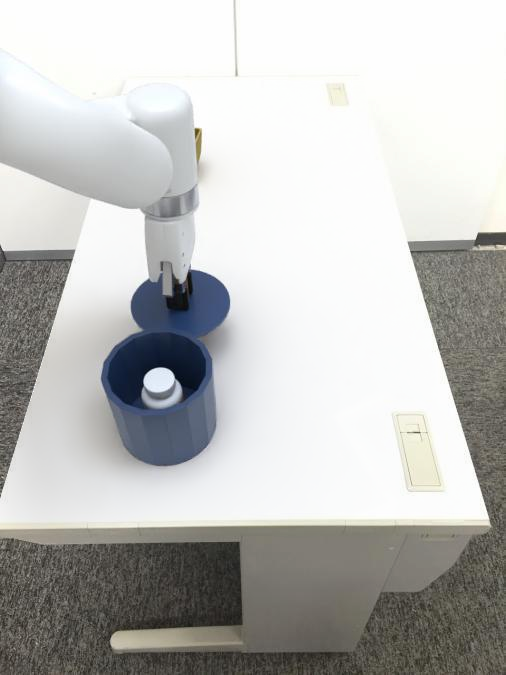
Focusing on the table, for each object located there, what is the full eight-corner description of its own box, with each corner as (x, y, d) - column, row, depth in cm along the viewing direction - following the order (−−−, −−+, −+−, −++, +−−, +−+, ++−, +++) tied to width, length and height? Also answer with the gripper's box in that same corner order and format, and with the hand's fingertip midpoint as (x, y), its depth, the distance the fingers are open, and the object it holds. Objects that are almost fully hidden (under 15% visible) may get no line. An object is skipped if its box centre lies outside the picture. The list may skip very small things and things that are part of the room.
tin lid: (148, 357, 74) (143, 329, 69) (120, 289, 83) (113, 261, 78) (246, 325, 78) (246, 297, 74) (208, 264, 87) (207, 236, 83)
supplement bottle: (194, 415, 76) (188, 374, 68) (170, 443, 73) (162, 403, 65) (164, 398, 77) (156, 356, 70) (140, 425, 74) (128, 384, 67)
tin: (135, 481, 70) (118, 431, 60) (109, 402, 78) (89, 347, 68) (231, 443, 73) (229, 390, 64) (196, 371, 81) (189, 315, 72)
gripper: (152, 157, 71) (166, 263, 85) (121, 231, 60) (143, 338, 74) (208, 161, 71) (213, 266, 84) (186, 236, 60) (196, 343, 74)
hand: (180, 299), depth 79 cm, fingers closed on tin lid, 2 cm apart
